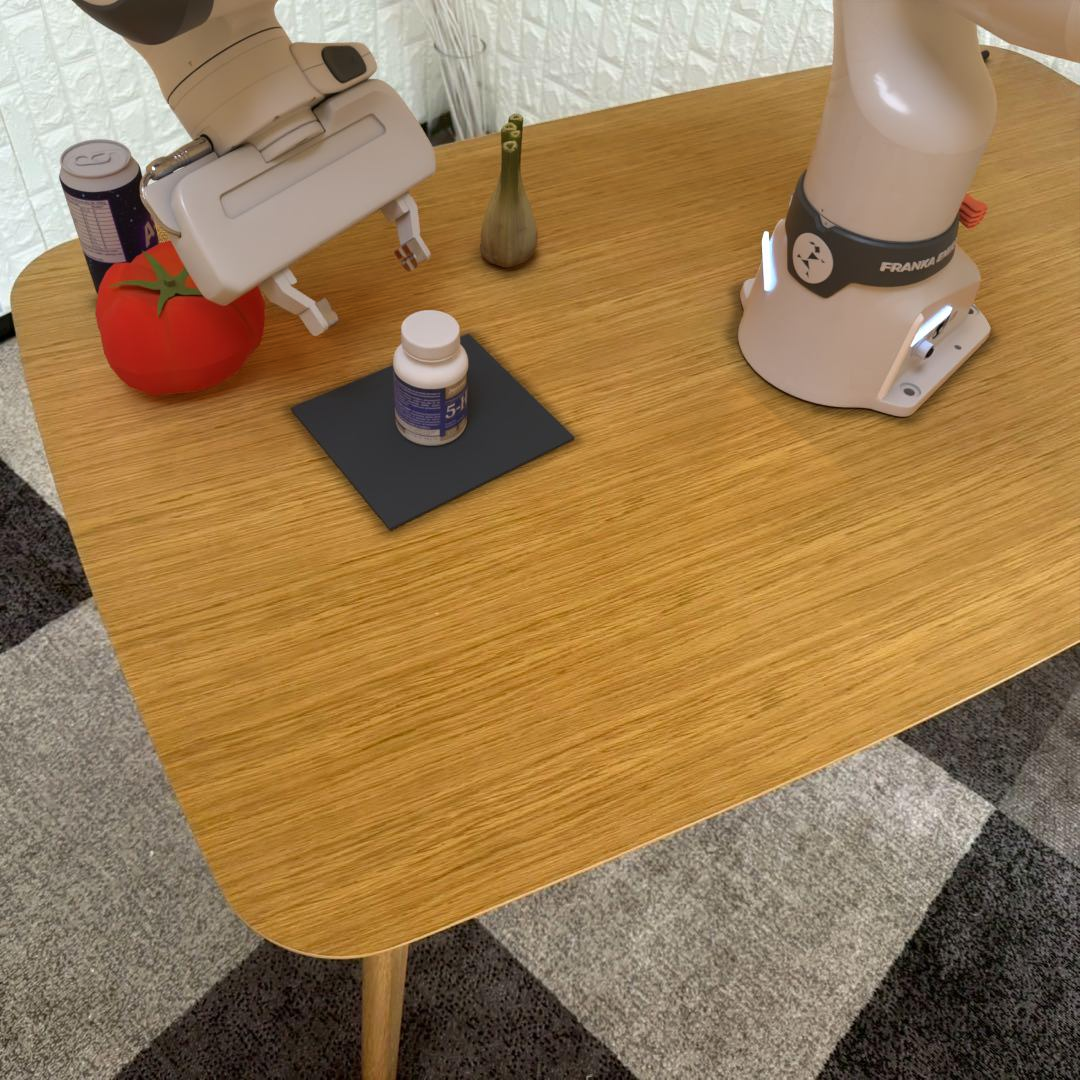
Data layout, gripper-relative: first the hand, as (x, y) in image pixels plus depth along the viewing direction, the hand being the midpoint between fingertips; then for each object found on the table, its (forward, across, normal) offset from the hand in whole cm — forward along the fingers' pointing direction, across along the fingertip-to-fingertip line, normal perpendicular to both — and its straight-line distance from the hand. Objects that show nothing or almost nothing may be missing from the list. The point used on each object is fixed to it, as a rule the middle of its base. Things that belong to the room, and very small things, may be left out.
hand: (375, 296), depth 70 cm
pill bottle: (+10, 0, +3) cm, 10 cm away
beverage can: (-10, -4, +23) cm, 26 cm away
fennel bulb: (+4, +20, +9) cm, 23 cm away
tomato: (-3, -7, +16) cm, 18 cm away
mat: (+10, 0, +3) cm, 11 cm away
